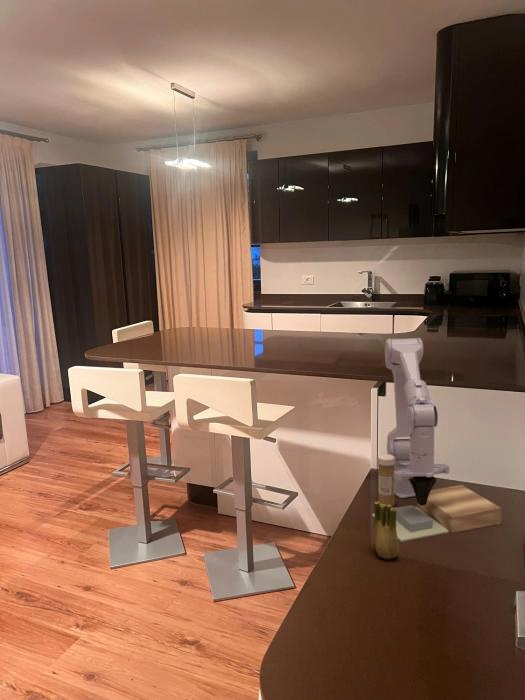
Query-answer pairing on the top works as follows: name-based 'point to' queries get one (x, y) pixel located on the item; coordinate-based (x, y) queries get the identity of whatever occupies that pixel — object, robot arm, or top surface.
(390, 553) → the fennel bulb
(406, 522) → the grey rectangular block
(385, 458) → the sprinkles bottle
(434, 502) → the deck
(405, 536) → the mat
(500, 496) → the top surface
